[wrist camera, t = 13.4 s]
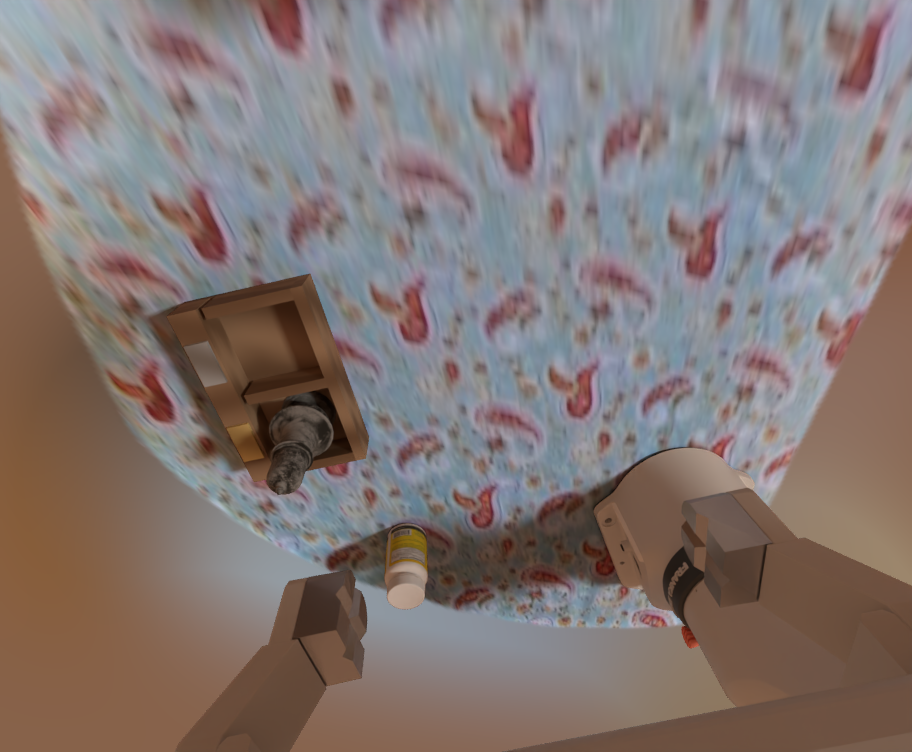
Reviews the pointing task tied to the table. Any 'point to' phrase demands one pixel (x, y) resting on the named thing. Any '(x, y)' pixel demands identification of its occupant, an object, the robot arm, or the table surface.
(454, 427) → the table surface
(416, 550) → the supplement bottle
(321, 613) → the robot arm
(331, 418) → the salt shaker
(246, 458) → the divided sorting tray
